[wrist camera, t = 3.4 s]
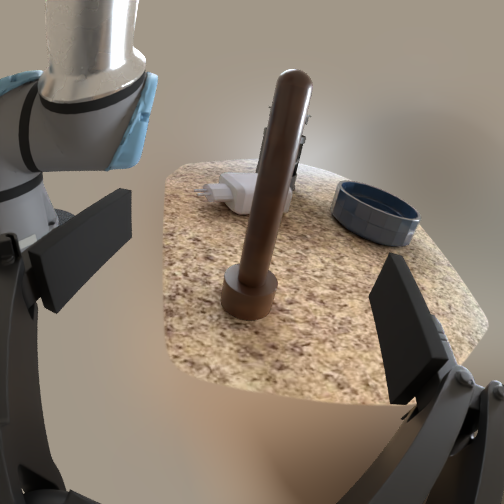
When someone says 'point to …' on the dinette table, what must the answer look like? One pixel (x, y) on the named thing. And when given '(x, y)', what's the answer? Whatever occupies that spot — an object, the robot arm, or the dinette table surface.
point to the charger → (235, 191)
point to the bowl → (374, 214)
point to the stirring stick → (268, 200)
